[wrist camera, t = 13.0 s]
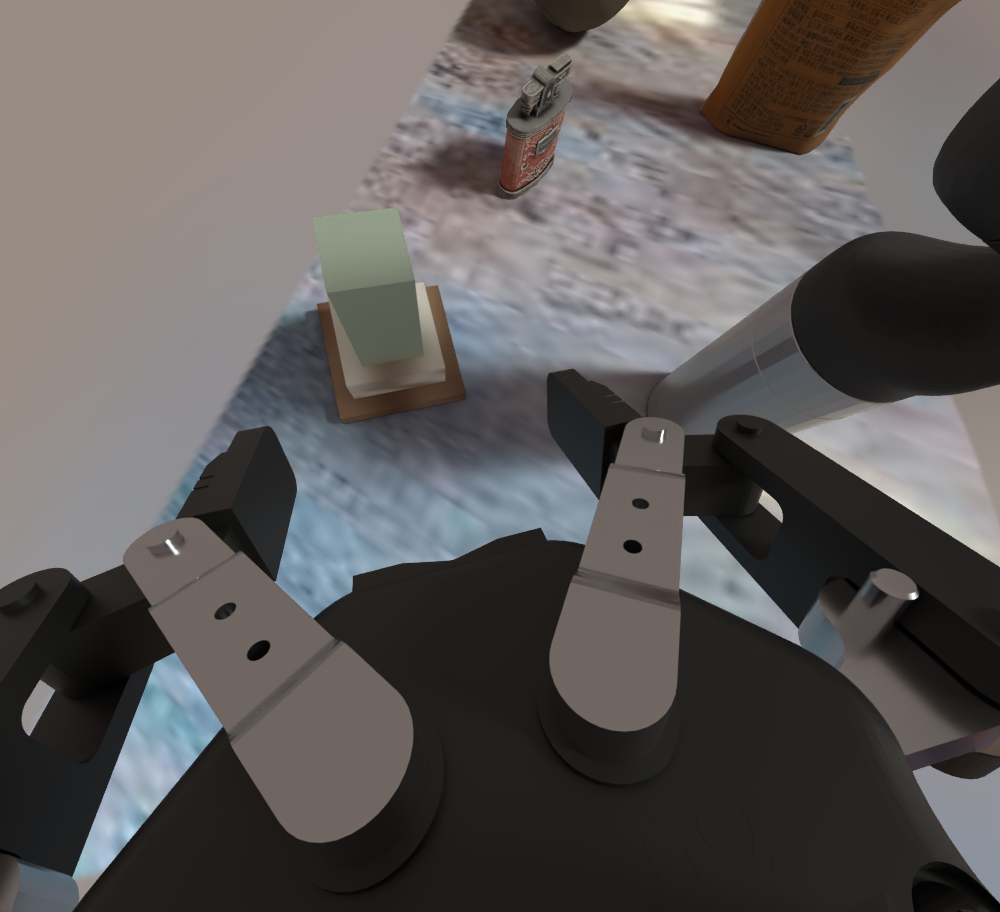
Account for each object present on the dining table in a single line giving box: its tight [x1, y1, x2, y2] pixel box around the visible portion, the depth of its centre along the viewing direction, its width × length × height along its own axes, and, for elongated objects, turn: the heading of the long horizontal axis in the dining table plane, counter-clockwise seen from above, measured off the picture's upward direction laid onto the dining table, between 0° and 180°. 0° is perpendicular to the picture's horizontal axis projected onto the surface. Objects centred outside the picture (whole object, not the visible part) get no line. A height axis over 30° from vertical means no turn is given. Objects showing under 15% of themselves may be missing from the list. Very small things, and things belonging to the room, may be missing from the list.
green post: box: [312, 208, 424, 367], centre depth 29 cm, size 5×5×10 cm
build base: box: [317, 282, 466, 424], centre depth 36 cm, size 11×11×4 cm
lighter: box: [497, 53, 573, 200], centre depth 39 cm, size 8×3×10 cm, turn 140°
